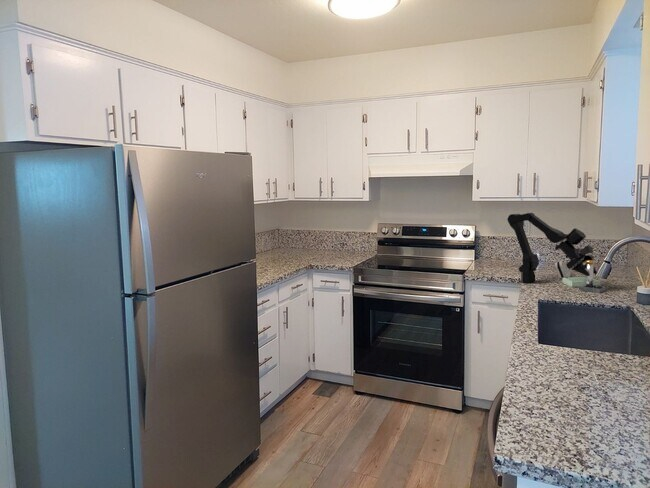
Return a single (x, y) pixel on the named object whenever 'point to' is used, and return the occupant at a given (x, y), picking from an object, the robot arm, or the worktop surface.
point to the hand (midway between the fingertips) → (592, 274)
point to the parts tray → (578, 281)
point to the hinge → (562, 270)
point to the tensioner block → (593, 288)
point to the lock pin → (590, 270)
